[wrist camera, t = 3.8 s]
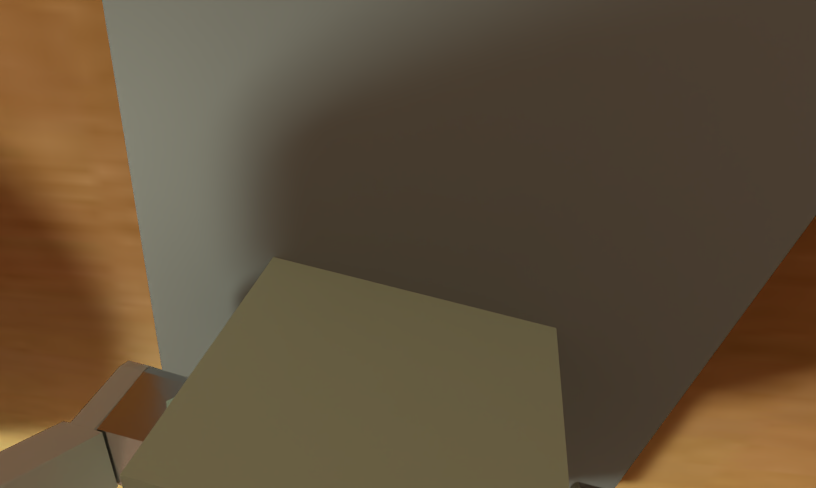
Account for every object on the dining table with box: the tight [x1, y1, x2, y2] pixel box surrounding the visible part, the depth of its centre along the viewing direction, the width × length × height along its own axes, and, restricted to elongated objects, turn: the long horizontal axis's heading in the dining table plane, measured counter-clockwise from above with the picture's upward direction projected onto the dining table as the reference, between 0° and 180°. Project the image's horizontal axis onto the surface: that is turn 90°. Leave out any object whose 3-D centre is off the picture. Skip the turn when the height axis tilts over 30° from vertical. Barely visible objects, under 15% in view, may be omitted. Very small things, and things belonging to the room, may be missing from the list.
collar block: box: [120, 257, 569, 488], centre depth 10 cm, size 6×6×5 cm
